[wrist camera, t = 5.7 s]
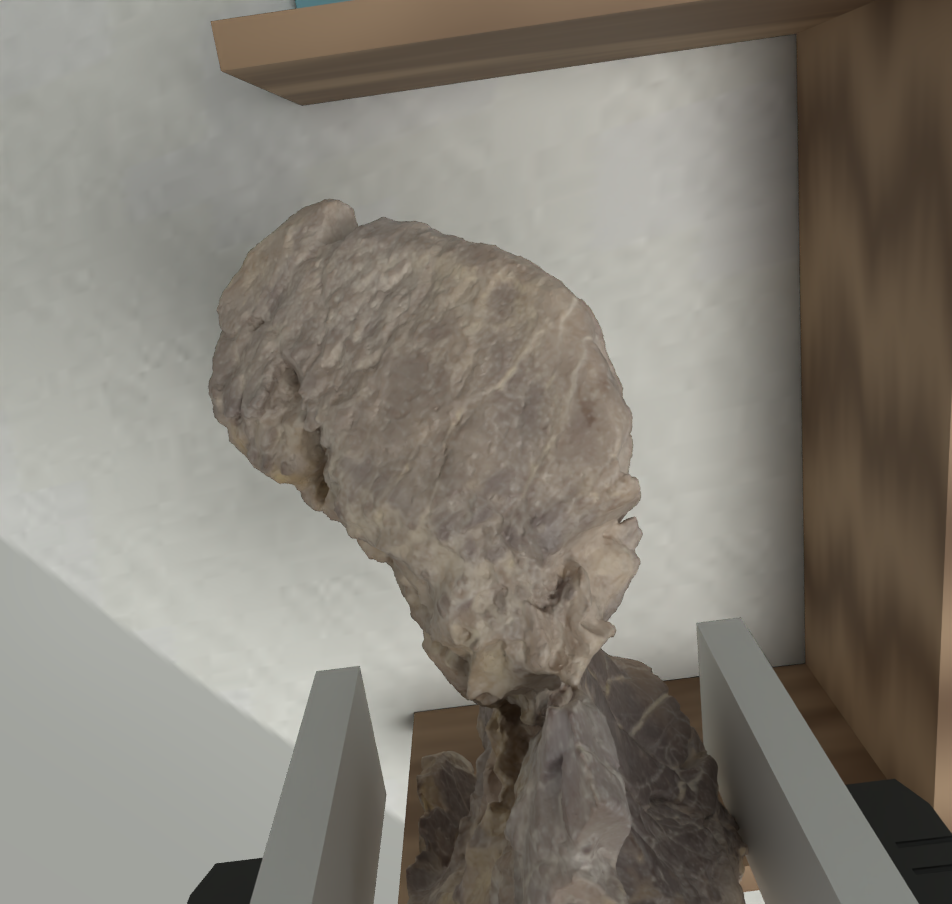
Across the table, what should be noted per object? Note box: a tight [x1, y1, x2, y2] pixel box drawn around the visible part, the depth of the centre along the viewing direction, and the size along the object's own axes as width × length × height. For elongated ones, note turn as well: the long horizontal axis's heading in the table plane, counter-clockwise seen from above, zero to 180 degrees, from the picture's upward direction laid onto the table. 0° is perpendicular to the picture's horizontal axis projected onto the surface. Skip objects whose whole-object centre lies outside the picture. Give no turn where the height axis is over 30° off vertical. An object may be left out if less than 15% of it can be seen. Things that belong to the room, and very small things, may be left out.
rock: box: [208, 199, 748, 904], centre depth 11 cm, size 6×14×7 cm, turn 12°
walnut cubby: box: [211, 0, 952, 904], centre depth 27 cm, size 26×18×10 cm
